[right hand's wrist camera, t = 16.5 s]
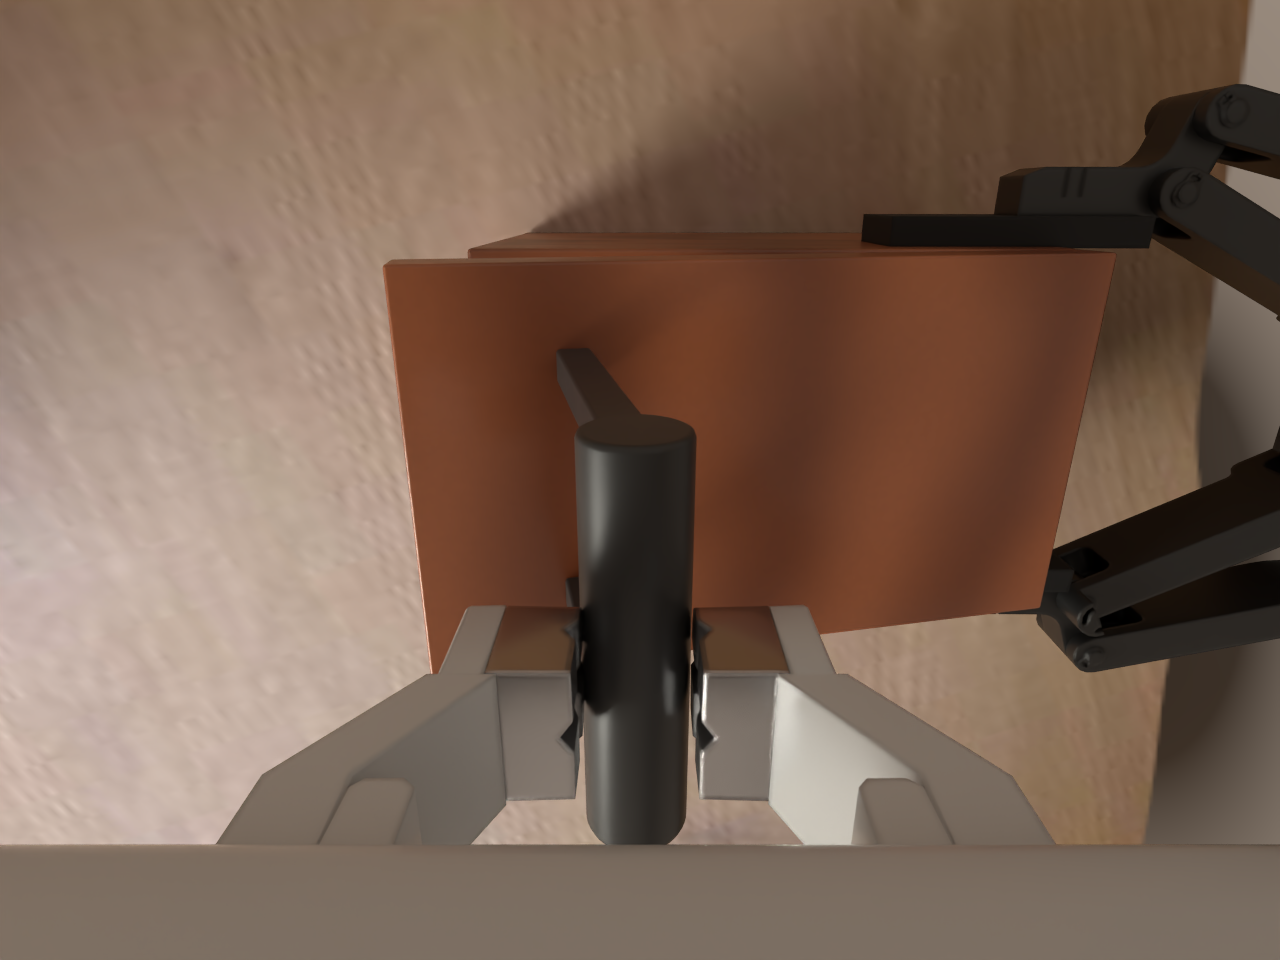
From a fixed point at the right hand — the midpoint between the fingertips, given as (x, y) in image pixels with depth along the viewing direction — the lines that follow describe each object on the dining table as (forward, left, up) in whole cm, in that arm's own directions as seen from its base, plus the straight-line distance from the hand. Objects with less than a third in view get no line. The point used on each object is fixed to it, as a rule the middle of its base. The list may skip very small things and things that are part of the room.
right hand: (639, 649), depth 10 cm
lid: (+2, +2, -8) cm, 9 cm away
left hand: (+4, +5, -12) cm, 14 cm away
